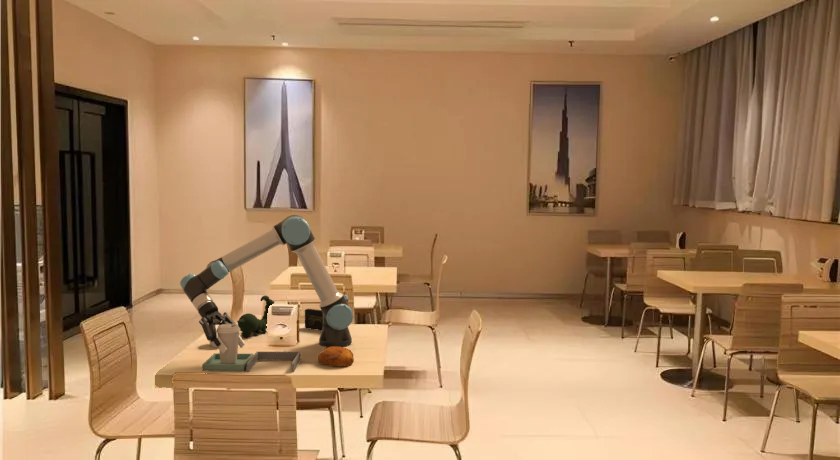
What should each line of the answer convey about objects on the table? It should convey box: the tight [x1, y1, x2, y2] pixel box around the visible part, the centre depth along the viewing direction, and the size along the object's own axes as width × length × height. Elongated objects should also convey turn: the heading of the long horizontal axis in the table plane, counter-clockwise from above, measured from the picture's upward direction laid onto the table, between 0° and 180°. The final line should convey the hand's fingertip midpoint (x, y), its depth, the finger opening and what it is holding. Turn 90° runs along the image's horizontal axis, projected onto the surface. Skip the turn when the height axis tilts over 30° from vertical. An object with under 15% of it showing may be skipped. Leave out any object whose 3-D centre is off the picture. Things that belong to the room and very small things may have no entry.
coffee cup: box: [216, 323, 241, 364], centre depth 279 cm, size 10×10×15 cm
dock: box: [246, 351, 302, 373], centre depth 280 cm, size 19×18×4 cm
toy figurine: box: [236, 295, 275, 339], centre depth 332 cm, size 10×19×26 cm
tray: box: [201, 352, 255, 372], centre depth 280 cm, size 17×17×3 cm
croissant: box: [317, 347, 355, 368], centre depth 285 cm, size 14×16×8 cm
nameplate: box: [304, 308, 323, 331], centre depth 343 cm, size 21×2×10 cm, turn 61°
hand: (234, 348), depth 278 cm, fingers closed on coffee cup, 9 cm apart
